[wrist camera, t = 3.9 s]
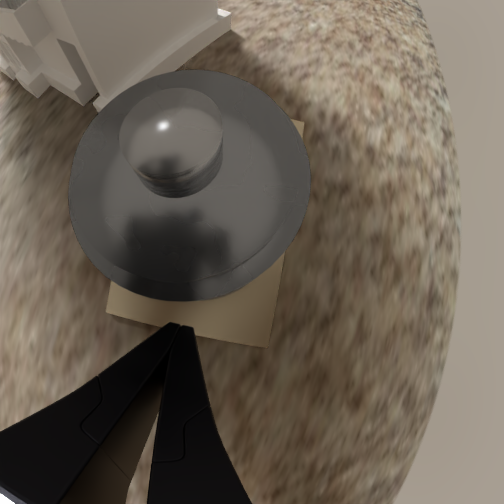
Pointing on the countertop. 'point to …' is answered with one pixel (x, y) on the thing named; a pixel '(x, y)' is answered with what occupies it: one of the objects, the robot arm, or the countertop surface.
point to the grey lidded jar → (188, 186)
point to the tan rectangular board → (212, 307)
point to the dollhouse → (102, 42)
